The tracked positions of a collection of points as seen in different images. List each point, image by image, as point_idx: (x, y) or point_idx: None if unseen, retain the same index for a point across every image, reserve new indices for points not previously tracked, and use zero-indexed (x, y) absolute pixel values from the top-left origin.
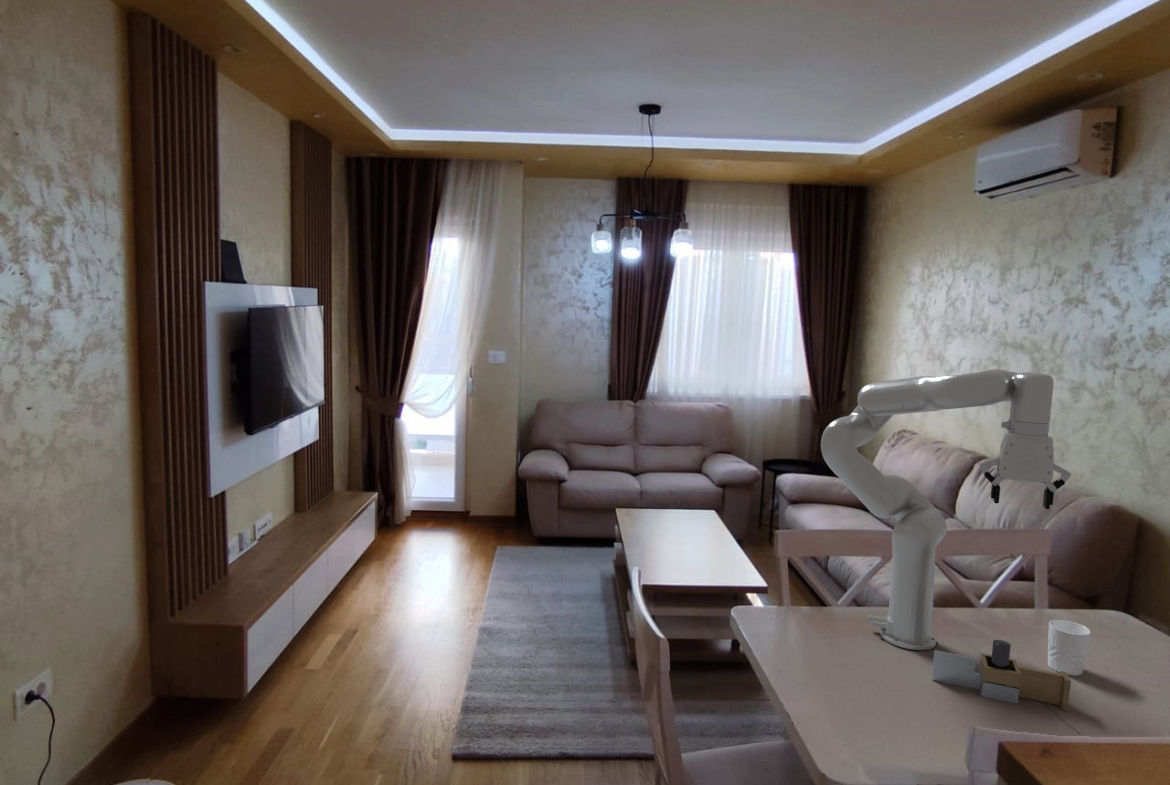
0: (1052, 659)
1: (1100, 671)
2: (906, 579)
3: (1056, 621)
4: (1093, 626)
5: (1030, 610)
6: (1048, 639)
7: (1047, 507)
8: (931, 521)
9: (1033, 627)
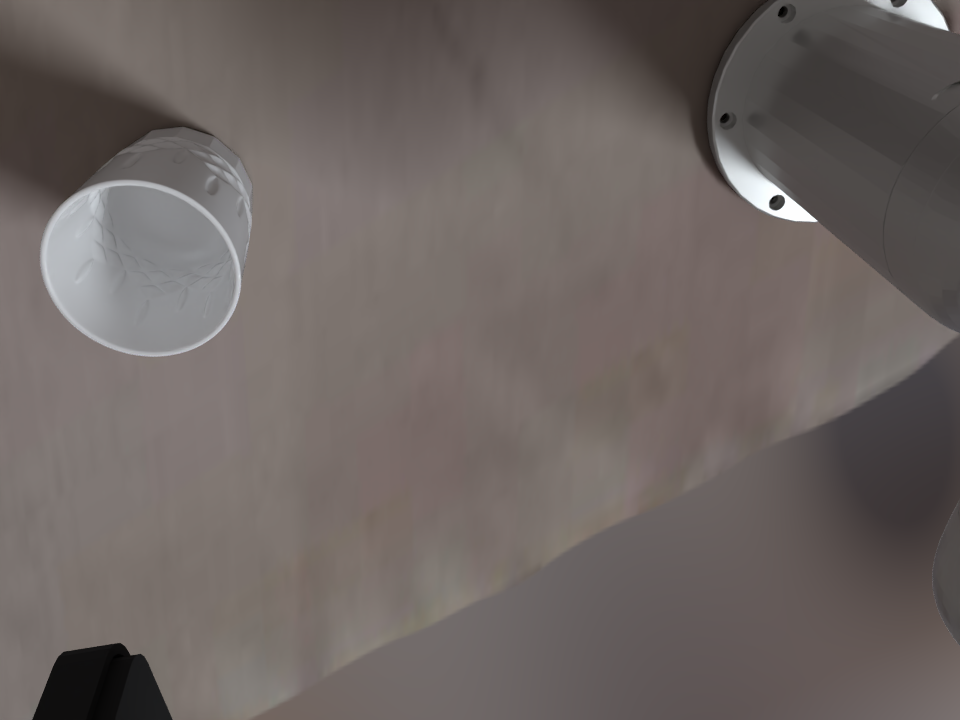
0: (229, 165)
1: None
2: None
3: (210, 329)
4: (127, 649)
5: (340, 661)
6: (244, 225)
7: (91, 668)
8: None
9: (324, 522)
